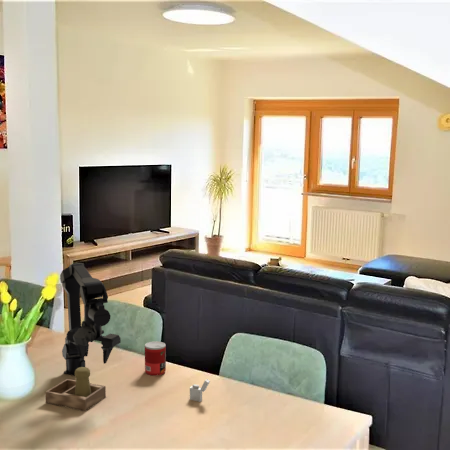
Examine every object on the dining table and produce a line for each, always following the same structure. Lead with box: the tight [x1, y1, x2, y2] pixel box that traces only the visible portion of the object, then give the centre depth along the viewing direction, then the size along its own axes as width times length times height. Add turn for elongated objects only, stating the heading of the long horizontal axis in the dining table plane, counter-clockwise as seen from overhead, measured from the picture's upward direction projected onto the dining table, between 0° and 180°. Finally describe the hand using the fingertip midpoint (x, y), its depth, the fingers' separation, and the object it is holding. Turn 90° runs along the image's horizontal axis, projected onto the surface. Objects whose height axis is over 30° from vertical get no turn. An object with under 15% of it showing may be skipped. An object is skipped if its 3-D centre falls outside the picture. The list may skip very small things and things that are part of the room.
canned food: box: [144, 340, 167, 377], centre depth 234 cm, size 8×8×11 cm
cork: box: [74, 366, 91, 397], centre depth 208 cm, size 6×6×11 cm
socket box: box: [44, 378, 107, 412], centre depth 210 cm, size 16×12×4 cm
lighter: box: [189, 378, 211, 402], centre depth 210 cm, size 7×2×8 cm, turn 65°
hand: (93, 361), depth 212 cm, fingers open, 9 cm apart
